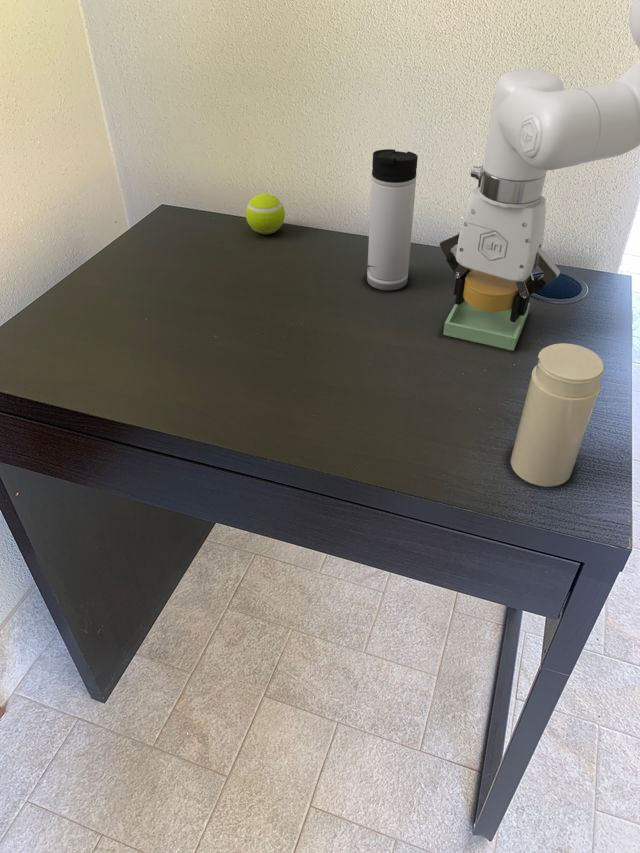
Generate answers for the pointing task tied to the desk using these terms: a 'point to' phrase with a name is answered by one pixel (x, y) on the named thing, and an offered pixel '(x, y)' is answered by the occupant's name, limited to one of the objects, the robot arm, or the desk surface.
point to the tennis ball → (265, 213)
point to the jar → (556, 413)
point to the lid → (489, 292)
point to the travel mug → (391, 218)
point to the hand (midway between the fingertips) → (488, 308)
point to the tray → (484, 326)
